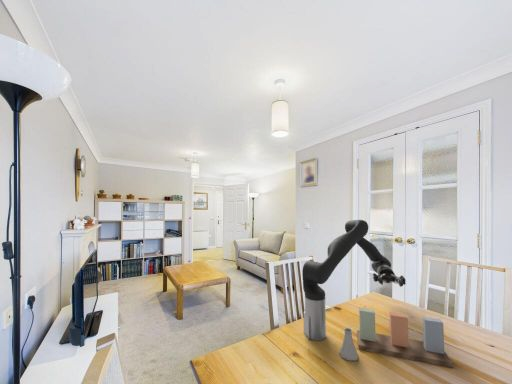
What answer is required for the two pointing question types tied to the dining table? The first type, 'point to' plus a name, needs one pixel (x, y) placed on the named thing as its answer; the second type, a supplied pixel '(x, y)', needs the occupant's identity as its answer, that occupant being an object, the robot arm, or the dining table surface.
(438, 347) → the slate tab
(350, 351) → the flask
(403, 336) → the terracotta tab
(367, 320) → the sage tab
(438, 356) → the brown wooden flat board
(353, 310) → the dining table surface
